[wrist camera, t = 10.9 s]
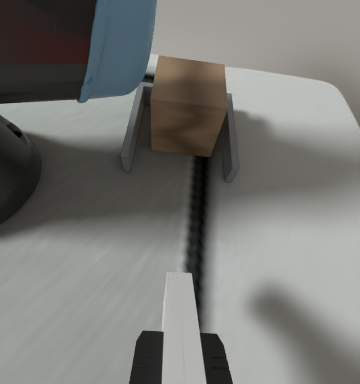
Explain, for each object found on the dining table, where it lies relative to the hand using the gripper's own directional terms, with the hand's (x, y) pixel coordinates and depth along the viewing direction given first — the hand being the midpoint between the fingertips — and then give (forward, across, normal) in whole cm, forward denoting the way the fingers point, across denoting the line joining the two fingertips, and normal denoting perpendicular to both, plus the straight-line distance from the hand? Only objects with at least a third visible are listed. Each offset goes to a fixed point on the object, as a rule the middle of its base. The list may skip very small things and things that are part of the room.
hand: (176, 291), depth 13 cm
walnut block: (+21, 0, +10) cm, 23 cm away
